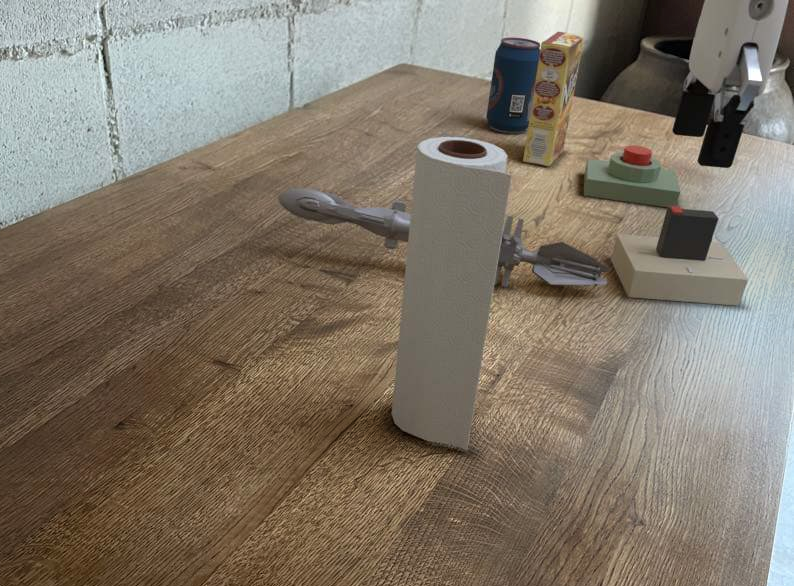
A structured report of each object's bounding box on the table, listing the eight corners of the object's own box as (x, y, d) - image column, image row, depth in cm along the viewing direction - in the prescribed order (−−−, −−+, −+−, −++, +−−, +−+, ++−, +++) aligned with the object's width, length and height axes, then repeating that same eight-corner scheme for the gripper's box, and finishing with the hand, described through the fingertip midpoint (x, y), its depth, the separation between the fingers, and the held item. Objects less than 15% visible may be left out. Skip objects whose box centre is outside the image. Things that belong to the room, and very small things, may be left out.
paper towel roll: (392, 398, 77) (418, 129, 63) (464, 404, 77) (505, 137, 63) (389, 446, 71) (417, 162, 58) (467, 452, 71) (512, 171, 58)
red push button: (648, 161, 122) (651, 147, 121) (649, 169, 120) (653, 155, 118) (621, 157, 123) (624, 143, 122) (621, 165, 120) (625, 151, 119)
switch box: (671, 186, 126) (679, 156, 124) (675, 208, 119) (684, 177, 117) (584, 174, 127) (590, 144, 125) (583, 195, 120) (590, 164, 118)
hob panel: (713, 267, 105) (722, 240, 103) (739, 306, 97) (749, 277, 95) (610, 259, 104) (616, 232, 102) (627, 297, 97) (635, 268, 95)
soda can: (481, 120, 144) (493, 34, 136) (524, 123, 145) (538, 38, 137) (489, 133, 139) (502, 45, 131) (534, 136, 140) (549, 48, 132)
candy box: (549, 168, 128) (572, 46, 119) (520, 162, 129) (540, 41, 120) (564, 151, 135) (586, 35, 125) (536, 146, 136) (556, 30, 126)
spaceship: (292, 160, 97) (279, 152, 90) (612, 237, 98) (626, 235, 90) (278, 237, 100) (264, 235, 92) (591, 312, 100) (603, 316, 92)
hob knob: (700, 253, 100) (714, 208, 97) (705, 260, 98) (719, 215, 95) (655, 249, 99) (667, 205, 96) (659, 257, 98) (672, 211, 95)
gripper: (838, -35, 73) (765, 182, 84) (768, -63, 87) (712, 128, 98) (747, -45, 73) (685, 175, 84) (691, -71, 86) (643, 121, 97)
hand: (700, 149), depth 91 cm, fingers open, 9 cm apart
